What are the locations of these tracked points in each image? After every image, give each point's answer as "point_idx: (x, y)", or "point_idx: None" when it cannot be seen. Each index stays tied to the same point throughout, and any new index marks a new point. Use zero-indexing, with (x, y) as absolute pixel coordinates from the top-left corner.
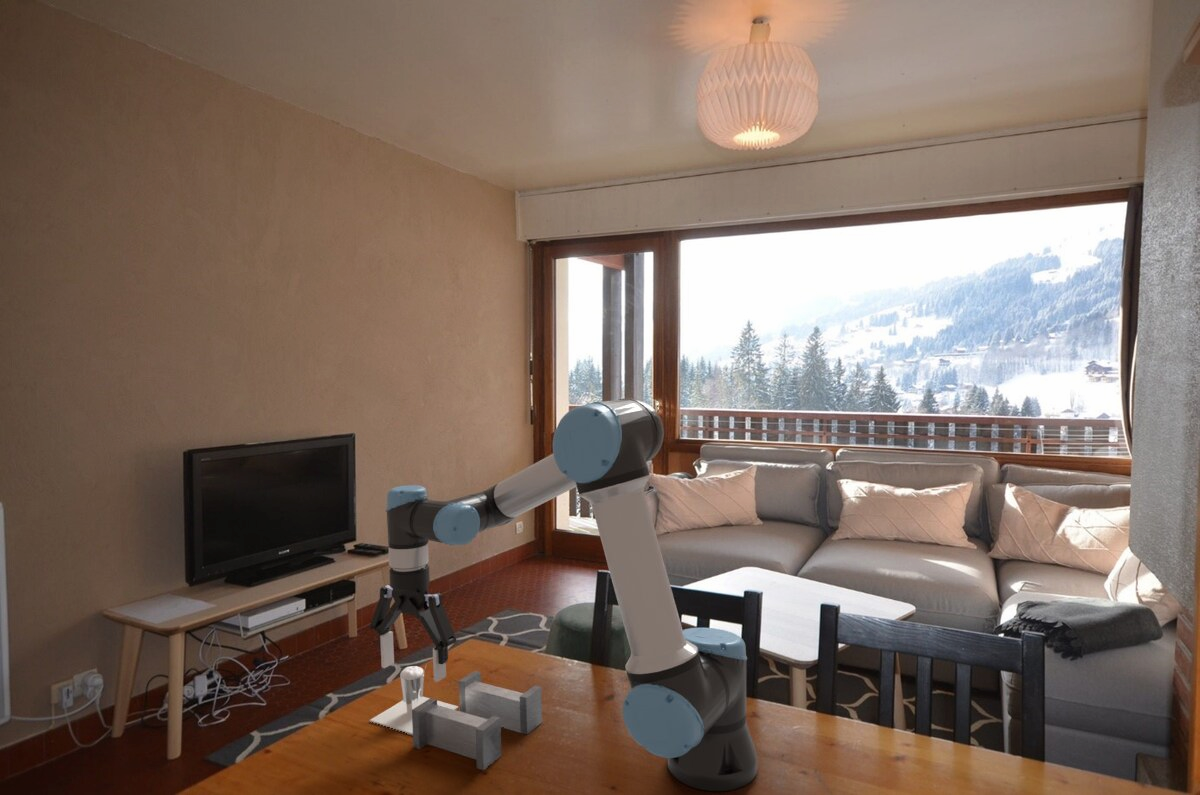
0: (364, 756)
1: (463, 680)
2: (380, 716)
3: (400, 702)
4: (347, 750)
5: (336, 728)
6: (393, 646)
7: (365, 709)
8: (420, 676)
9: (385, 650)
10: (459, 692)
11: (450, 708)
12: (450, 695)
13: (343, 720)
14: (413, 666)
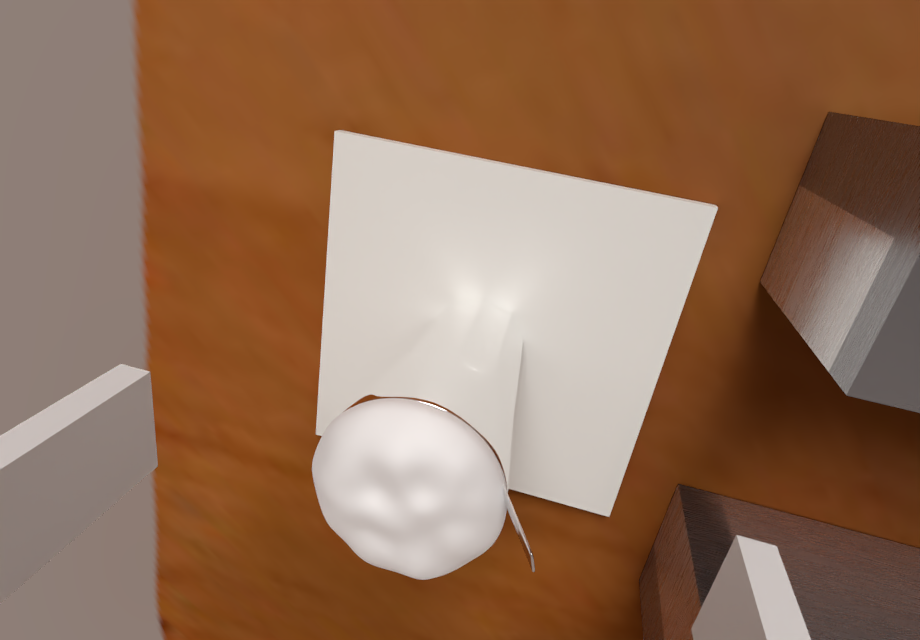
0: (476, 636)
1: (902, 389)
2: (338, 400)
3: (334, 250)
4: (388, 608)
5: (234, 488)
6: (8, 467)
7: (218, 332)
8: (504, 520)
9: (28, 558)
10: (810, 344)
11: (671, 244)
12: (572, 43)
13: (209, 432)
14: (371, 467)
